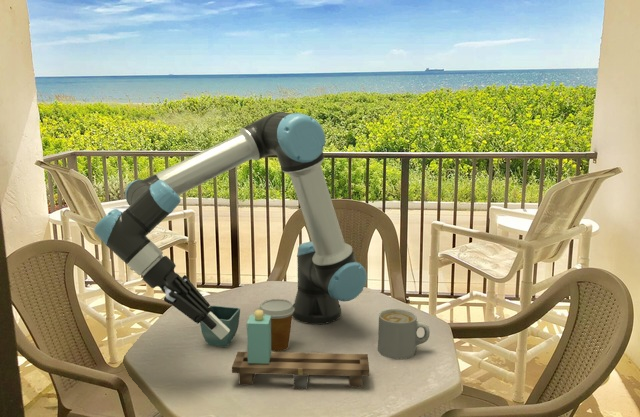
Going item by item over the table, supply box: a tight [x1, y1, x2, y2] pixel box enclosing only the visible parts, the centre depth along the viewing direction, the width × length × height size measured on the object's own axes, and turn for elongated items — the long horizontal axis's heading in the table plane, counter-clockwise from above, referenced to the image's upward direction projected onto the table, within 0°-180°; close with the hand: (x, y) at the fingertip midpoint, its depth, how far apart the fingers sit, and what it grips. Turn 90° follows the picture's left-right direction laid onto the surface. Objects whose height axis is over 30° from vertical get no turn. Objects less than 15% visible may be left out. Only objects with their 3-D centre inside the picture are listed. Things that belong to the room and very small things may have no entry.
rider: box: [246, 309, 272, 364], centre depth 136 cm, size 5×5×13 cm
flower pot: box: [199, 305, 241, 348], centre depth 156 cm, size 9×9×9 cm
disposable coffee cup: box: [258, 298, 294, 352], centre depth 154 cm, size 10×10×12 cm
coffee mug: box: [377, 308, 431, 360], centre depth 152 cm, size 13×10×10 cm
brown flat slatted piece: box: [231, 351, 370, 390], centre depth 137 cm, size 32×9×5 cm, turn 88°
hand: (225, 334), depth 136 cm, fingers closed
